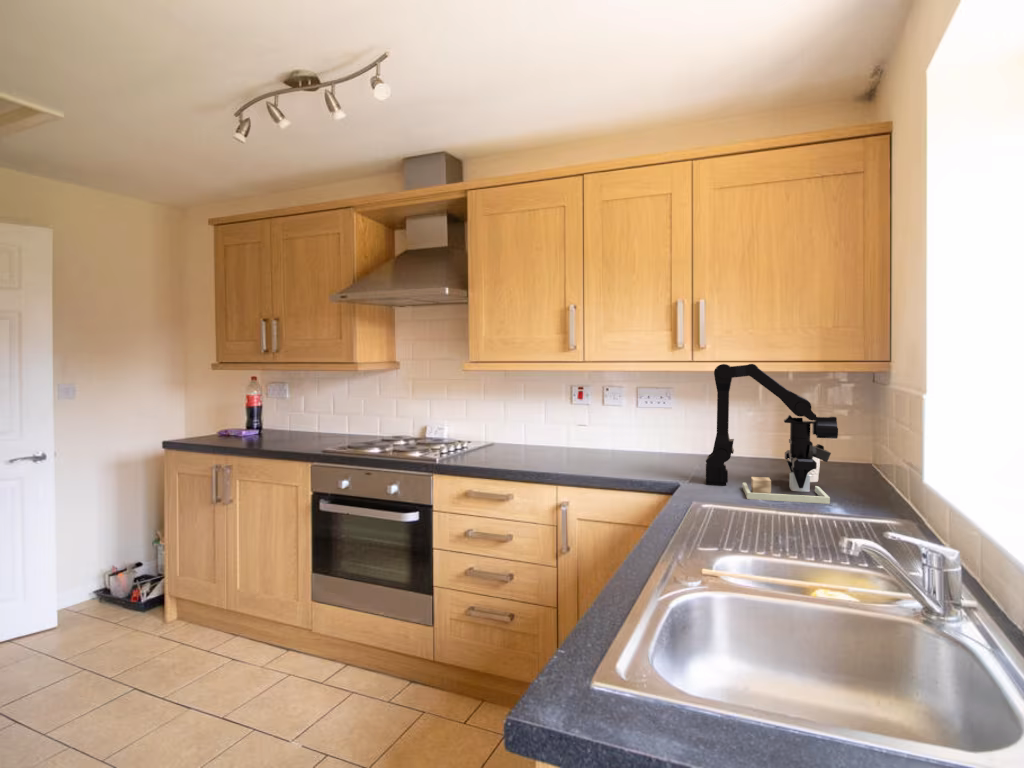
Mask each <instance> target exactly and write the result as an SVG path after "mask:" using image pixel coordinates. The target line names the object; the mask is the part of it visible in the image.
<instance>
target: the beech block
mask: <svg viewBox="0 0 1024 768" xmlns="http://www.w3.org/2000/svg"><path fill="white" fill-rule="evenodd" d="M750 479H751V484H750V485H751V487H750V489H751V490H750V492H751V493H769V494H772V480H771V479H770V477H765V476H764V477H763V476H762V477H761V476H751V478H750Z"/></svg>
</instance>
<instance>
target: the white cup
mask: <svg viewBox="0 0 1024 768" xmlns="http://www.w3.org/2000/svg"><path fill="white" fill-rule="evenodd" d="M812 459H813V460H814V461H815V462H816V463H817V467H816V469H813V470H811V471H809V472H808V474H809V475H810V483H817V482H818V481H819V474H820V468H821V467H820V466H821V465H820V464H821V459H818V458H815V457H813V458H812Z"/></svg>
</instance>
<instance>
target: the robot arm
mask: <svg viewBox="0 0 1024 768" xmlns="http://www.w3.org/2000/svg"><path fill="white" fill-rule="evenodd" d="M713 375H714V382H715V387H716V392H717V399H716V403H717V405H716V435H715V440H714V444H713V448H712V449H713V450H712V452H710V454H708V455H707V457H706V459H705V462H706V463H705V479H704V482H705V485H709V486H710V485H712V486H727V483H728V481H729V479H728V478H729V475H728V474H729V473H728V472H729V470H728V469H727V465H726V464H725V462H728V461H729V460H730V459H731V458H732V455H733V454H734V451H735V449H734V441H735V439H734V438H730V433H729V425H730V424H729V422H730V421H729V419H730V417H729V414H730V391H731V386H732V382H733V378H742V377H751V378H752V379H753V380H755V381H756V382H758V383H759V384H760V385H761V386H762V387H764V388H765V389H767V390H768V391H769V392H771V393H772V394H773V395H775V396H776V397H777V398H779V399H780V401H782V403H783V404H784V405H785V406H786V407H787V408H788V409H789V410H790V411H791V413H793V415H795V416H797V417H792V416H791V415H790V414H788V415H787V417H786V418H784V419H783V422H784V423H785V424H790V425H789V429H790V430H789V433H790V434H789V439H788V443H789V449H787V450H786V451H785V452H784V459H785V460H786V463H787V466H788V468H789V471H790V472H793V473H794V476H795V478H796V481H797V484H798V486H799V488H803V486H804V483H805V480H806V476H807V473H808V472H809V471H811V470H813V469H816V467H817V463H816V462H815V461H814V460H813V459H812V458H813V457H815V458H818V459H820V461H823V462H825V463H828V461H829V459H830V456H831V454H832V452H830V451H828V450H826V449H825V447H824V445H823V444H820V443H819V444H818V443H817V444H816V445H813V442H812V441H811V433H812V435H814V436H816V439H832V440H833V439H834V440H835V439H836V440H837V439H838V436H839V428H838V417H836V416H817V413H814V412H813V411H812V403H811V402H810V401H809V400H808V399H807V398H805V397H803V396H801V395H799V394H798V393H795V392H793V391H792V390H790V389H787V388H786V387H784V386H783V385H782V384H780V383H779V382H778V381H777V380H775V379H774V378H772V377H771V376H770V375H769V374H767V373H766V372H764V370H762V369H760V368H759V367H758V366H757V365H756V364H755V363H749V364H744V365H732V366H731V365H730V364H726V363H721V364H719V365H717V366H716V367H715V368H714V371H713ZM803 417H805V418H806V419H808V420H804V419H803ZM811 425H812V428H811ZM811 430H812V432H811Z"/></svg>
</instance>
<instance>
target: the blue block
mask: <svg viewBox="0 0 1024 768" xmlns="http://www.w3.org/2000/svg"><path fill="white" fill-rule="evenodd" d="M788 482H789V485H788V486H789V489H790V490H791V491H792V492H810V491H811V489H810V488H811V482H810V475H809V474H808V473H807V476H806V480H805V483H804V486H803V488H799V486H798V484H797V481H796V478H795V476H794V473H793V472H791V471H790V472H789V481H788Z"/></svg>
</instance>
